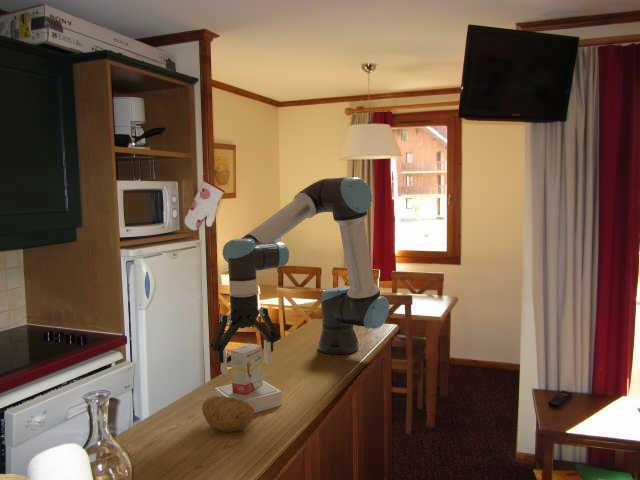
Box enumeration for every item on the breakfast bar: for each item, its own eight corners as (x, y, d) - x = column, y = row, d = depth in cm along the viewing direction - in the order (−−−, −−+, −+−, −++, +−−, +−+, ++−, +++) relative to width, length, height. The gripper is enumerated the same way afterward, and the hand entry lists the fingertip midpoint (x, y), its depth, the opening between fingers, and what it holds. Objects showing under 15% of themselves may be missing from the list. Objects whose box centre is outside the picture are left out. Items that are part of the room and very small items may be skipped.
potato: (242, 442, 127) (241, 410, 126) (195, 433, 132) (193, 402, 132) (263, 425, 136) (262, 395, 135) (217, 417, 141) (216, 388, 141)
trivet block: (259, 390, 160) (258, 376, 159) (281, 405, 148) (281, 390, 148) (215, 401, 152) (214, 387, 152) (235, 418, 140) (235, 402, 140)
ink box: (246, 395, 145) (244, 353, 144) (231, 392, 147) (229, 351, 146) (263, 384, 152) (262, 344, 151) (250, 382, 155) (248, 342, 153)
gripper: (276, 286, 157) (278, 356, 159) (195, 298, 143) (199, 374, 145) (288, 290, 151) (291, 362, 153) (205, 302, 137) (209, 381, 139)
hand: (246, 368), depth 149 cm, fingers open, 13 cm apart
